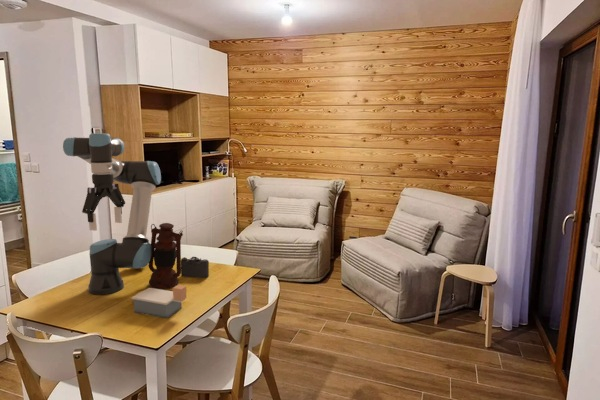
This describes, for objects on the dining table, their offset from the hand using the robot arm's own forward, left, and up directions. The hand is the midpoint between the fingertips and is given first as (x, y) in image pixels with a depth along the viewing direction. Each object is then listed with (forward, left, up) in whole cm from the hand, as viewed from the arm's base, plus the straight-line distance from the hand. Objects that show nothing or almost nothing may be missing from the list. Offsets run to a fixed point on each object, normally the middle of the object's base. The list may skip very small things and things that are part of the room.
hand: (106, 226), depth 162 cm
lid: (+19, +8, -32) cm, 38 cm away
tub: (+17, +7, -36) cm, 41 cm away
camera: (+8, +50, -37) cm, 63 cm away
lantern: (+1, +32, -36) cm, 48 cm away
